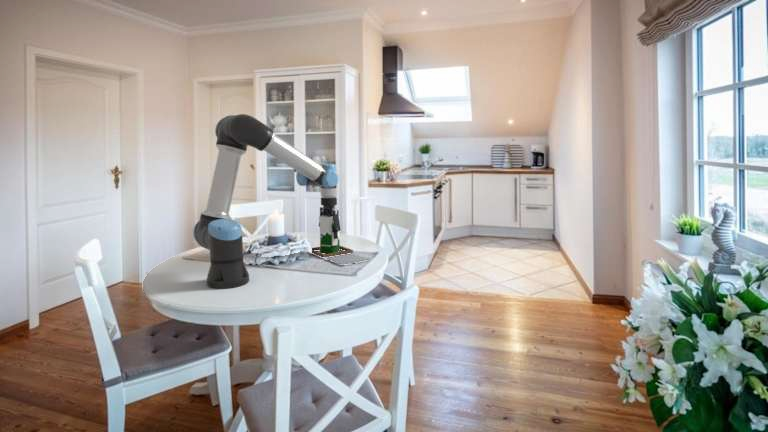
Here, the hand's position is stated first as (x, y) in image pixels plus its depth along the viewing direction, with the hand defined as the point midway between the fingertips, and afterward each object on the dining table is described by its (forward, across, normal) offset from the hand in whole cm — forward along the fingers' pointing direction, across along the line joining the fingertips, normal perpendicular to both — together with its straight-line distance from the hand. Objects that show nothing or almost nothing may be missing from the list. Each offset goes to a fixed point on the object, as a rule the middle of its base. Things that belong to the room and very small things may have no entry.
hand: (329, 243), depth 211 cm
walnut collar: (+5, 0, 0) cm, 5 cm away
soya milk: (+5, 0, 0) cm, 5 cm away
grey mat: (+5, -17, +1) cm, 18 cm away
